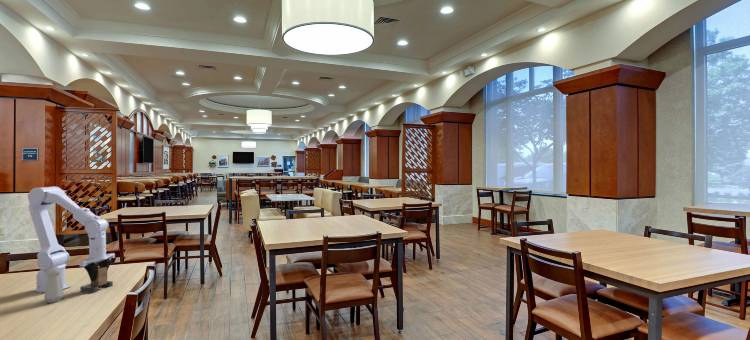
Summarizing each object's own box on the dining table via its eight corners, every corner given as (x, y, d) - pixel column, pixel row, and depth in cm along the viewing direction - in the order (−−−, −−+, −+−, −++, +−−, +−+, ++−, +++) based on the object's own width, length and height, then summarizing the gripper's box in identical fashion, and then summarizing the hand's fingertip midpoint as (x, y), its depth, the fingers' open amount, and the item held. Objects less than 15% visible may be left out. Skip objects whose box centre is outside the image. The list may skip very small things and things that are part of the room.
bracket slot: (80, 291, 153) (80, 286, 153) (99, 284, 161) (99, 280, 161) (94, 292, 152) (94, 287, 152) (112, 285, 160) (112, 281, 160)
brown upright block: (90, 285, 155) (90, 269, 155) (99, 282, 159) (99, 266, 158) (98, 286, 154) (98, 269, 154) (107, 283, 158) (107, 267, 158)
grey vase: (52, 304, 139) (51, 270, 139) (40, 303, 140) (39, 269, 140) (67, 298, 145) (67, 266, 144) (56, 297, 146) (55, 265, 146)
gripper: (89, 251, 148) (90, 284, 148) (120, 243, 162) (121, 274, 163) (75, 251, 149) (75, 283, 150) (107, 243, 164) (107, 273, 164)
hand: (98, 278), depth 156 cm, fingers closed on brown upright block, 4 cm apart
